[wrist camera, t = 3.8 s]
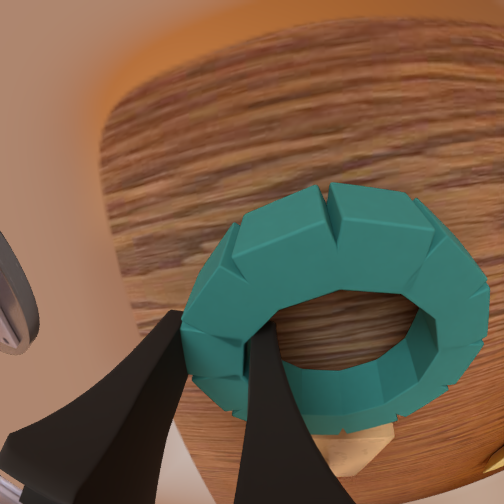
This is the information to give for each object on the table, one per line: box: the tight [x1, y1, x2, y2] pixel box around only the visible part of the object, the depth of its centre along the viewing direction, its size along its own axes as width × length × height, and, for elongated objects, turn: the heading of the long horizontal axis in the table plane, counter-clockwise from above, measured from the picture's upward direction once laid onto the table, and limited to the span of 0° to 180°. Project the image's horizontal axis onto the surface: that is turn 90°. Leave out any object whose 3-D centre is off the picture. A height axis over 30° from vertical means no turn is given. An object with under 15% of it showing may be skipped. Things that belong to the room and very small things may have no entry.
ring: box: [180, 182, 490, 435], centre depth 10 cm, size 10×10×2 cm
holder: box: [311, 422, 395, 477], centre depth 17 cm, size 9×9×7 cm
